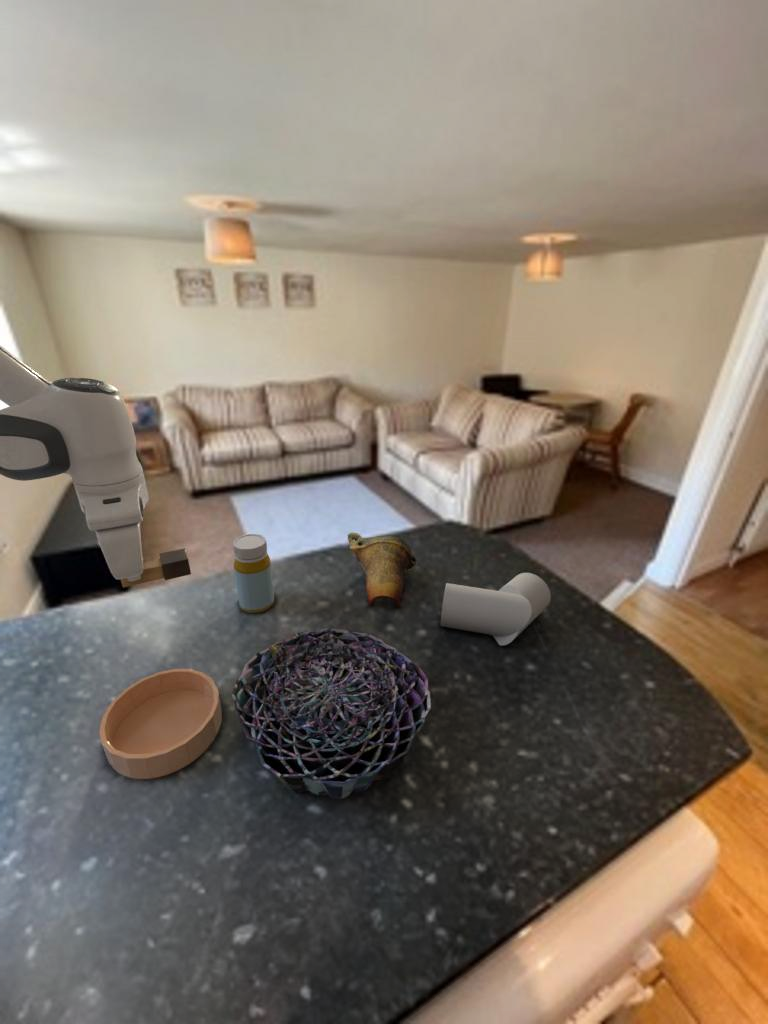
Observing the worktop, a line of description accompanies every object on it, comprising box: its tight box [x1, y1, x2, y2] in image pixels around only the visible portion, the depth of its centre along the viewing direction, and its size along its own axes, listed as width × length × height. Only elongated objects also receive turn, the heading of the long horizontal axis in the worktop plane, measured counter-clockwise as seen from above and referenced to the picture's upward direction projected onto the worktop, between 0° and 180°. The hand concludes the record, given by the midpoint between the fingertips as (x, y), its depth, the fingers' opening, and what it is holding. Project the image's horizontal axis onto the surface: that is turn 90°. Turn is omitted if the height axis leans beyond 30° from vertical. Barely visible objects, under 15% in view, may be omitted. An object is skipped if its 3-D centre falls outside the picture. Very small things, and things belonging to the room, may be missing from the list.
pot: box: [347, 532, 418, 608], centre depth 98 cm, size 17×11×18 cm
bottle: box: [232, 533, 275, 614], centre depth 89 cm, size 7×7×15 cm
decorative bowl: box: [231, 627, 432, 800], centre depth 64 cm, size 26×28×10 cm
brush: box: [120, 547, 192, 588], centre depth 73 cm, size 10×4×3 cm, turn 119°
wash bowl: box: [98, 668, 223, 780], centre depth 64 cm, size 15×15×4 cm
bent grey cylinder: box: [440, 572, 552, 646], centre depth 87 cm, size 18×11×20 cm
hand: (134, 572), depth 72 cm, fingers closed on brush, 2 cm apart
